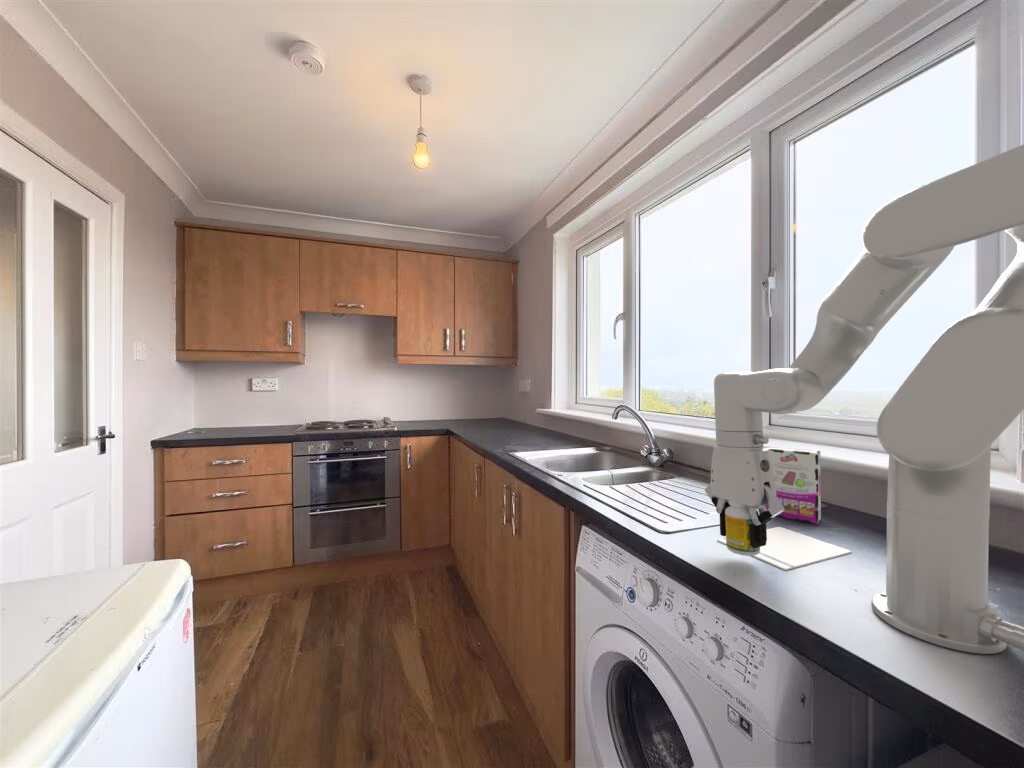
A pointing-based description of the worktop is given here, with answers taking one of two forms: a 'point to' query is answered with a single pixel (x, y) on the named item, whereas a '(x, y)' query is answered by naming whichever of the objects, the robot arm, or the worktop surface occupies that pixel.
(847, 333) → the robot arm
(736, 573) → the worktop surface
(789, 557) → the paper notebook
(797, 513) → the candy bar box
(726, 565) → the worktop surface
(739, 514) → the supplement bottle
